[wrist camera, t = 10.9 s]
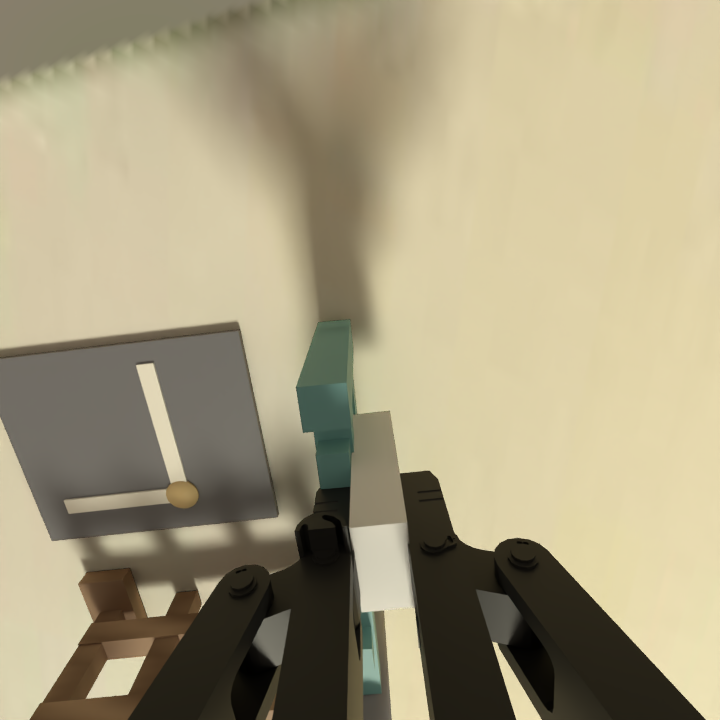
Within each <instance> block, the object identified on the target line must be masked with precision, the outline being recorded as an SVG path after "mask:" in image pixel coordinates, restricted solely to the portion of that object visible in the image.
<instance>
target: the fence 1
mask: <svg viewBox="0 0 720 720" xmlns="http://www.w3.org/2000/svg"><path fill="white" fill-rule="evenodd" d="M78 585H79V587H80V590H81V592H82V595H83V597H84V600H85V602H86V605H87V607H88V610H89V612H90V614H91V617H92V619H93V622H94V623H92V624H91V625H90V627H89V628H88V630H87V631H86V633H85V635H84V636H83V638H82V639H81V641H80V642H79V644H78V645H79V646H78V648H77V649H76V651H75V653H74V654H73V656H72V657H71V659H70V660H69V662H68V663H67V665H66V667H65V668H64V670H63V671H62V673H61V674H60V676H59V678H58V679H57V681H56V682H55V684H54V685H53V687H52V689H51V690H50V692H49V693H48V695H47V696H46V698H45V699H44V701H43V703H40V704H39V706H38V708H37V709H36V711H35V712H34V714H33V715H32V717H31V718H30V720H128V718H129V717H130V715H131V714H132V712H133V711H134V709H135V708H136V706H137V705H138V703H139V702H140V700H141V699H142V697H143V696H144V694H145V693H146V691H147V690H148V688H149V687H150V685H151V684H152V682H153V681H154V679H155V678H156V676H157V675H158V673H159V672H160V670H161V669H162V667H163V666H164V664H165V663H166V661H167V660H168V658H169V657H170V655H171V654H172V652H173V651H174V649H175V648H176V646H177V645H178V643H179V642H180V640H181V639H182V637H183V636H184V634H185V633H186V631H187V630H188V628H189V627H190V625H191V624H192V622H193V621H194V619H195V618H196V616H197V615H198V612H199V610H200V607H201V605H202V604H201V601H200V597H199V594H198V591H188V592H179V593H176V595H175V597H174V599H173V601H172V603H171V605H170V607H169V610H168V612H167V614H166V616H160V617H150V618H147V615H146V613H145V610H144V607H143V604H142V601H141V599H140V596H139V593H138V590H137V587H136V585H135V582H134V579H133V576H132V573H131V570H130V568H126V569H116V570H107V571H97V572H87V573H86V574H85V576H84V577H83V578H82V580H81V581H80V582H79V584H78ZM141 656H146V658H145V660H144V662H143V665H142V667H141V669H140V671H139V673H138V675H137V677H136V679H135V682H134V684H133V686H132V688H131V690H130V692H129V694H128V695H123V696H112V697H101V698H91V699H86V697H87V695H88V693H89V691H90V690H91V688H92V686H93V684H94V682H95V681H96V679H97V677H98V675H99V673H100V672H101V670H102V668H103V666H104V664H105V663H106V661H107V660H110V659H120V658H130V657H141ZM275 699H276V695H275V698H274V700H273V703H272V705H271V708H270V710H269V713H268V715H267V718H266V720H272V716H273V710H274V705H275Z"/></svg>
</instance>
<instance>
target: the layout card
mask: <svg viewBox="0 0 720 720" xmlns="http://www.w3.org/2000/svg"><path fill="white" fill-rule="evenodd" d="M0 417H1V420H2V422H3V424H4V427H5V429H6V432H7V434H8V436H9V439H10V441H11V444H12V446H13V448H14V451H15V453H16V456H17V458H18V460H19V463H20V465H21V468H22V470H23V473H24V475H25V477H26V480H27V482H28V485H29V487H30V489H31V492H32V494H33V497H34V499H35V501H36V504H37V506H38V509H39V511H40V513H41V516H42V518H43V521H44V523H45V526H46V528H47V530H48V533H49V535H50V538H51V540H52V541H57V540H66V539H76V538H85V537H95V536H105V535H114V534H124V533H133V532H143V531H152V530H162V529H171V528H181V527H190V526H200V525H209V524H219V523H228V522H238V521H247V520H257V519H266V518H276V517H278V515H279V512H278V507H277V503H276V498H275V493H274V488H273V484H272V479H271V474H270V469H269V465H268V460H267V455H266V450H265V446H264V441H263V436H262V431H261V427H260V422H259V417H258V413H257V408H256V403H255V398H254V394H253V389H252V384H251V379H250V375H249V370H248V365H247V360H246V356H245V351H244V346H243V341H242V337H241V332H240V329H238V330H230V331H222V332H213V333H205V334H196V335H188V336H179V337H171V338H162V339H154V340H145V341H137V342H128V343H120V344H111V345H103V346H94V347H86V348H78V349H69V350H61V351H52V352H44V353H35V354H27V355H18V356H10V357H1V358H0Z"/></svg>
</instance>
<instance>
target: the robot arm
mask: <svg viewBox="0 0 720 720" xmlns="http://www.w3.org/2000/svg"><path fill="white" fill-rule="evenodd" d="M353 430H354V453H352V458H351V487H342V488H331V489H320V488H319V490H318V491H317V492H316V498H315V505H314V511H313V513H314V514H312V515H310V516H308V517H306V518H304V519H303V520H302V521H301V522H300V523H299V524H298V525H297V527H296V530H295V536H296V541H297V546H298V551H299V556H300V559H299V561H298V562H297V563H295V564H294V565H292V566H291V567H289V568H286V569H284V570H282V571H279V572H276V573H273V574H270V575H269V572H268V571H267V570H266V569H265V568H264V567H261V566H258V565H245V566H242V567H239V568H236V569H234V570H233V571H231V572H229V573H228V574H226V575H225V576H224V577H223V579H222V580H221V581H220V582H219V583H218V585H217V586H216V588H215V589H214V591H213V592H212V594H211V595H210V597H209V598H208V600H207V601H206V603H205V604H204V606H203V607H202V609H201V610H200V612H199V613H198V615H197V616H196V618H195V619H194V621H193V622H192V624H191V625H190V627H189V628H188V630H187V631H186V633H185V634H184V636H183V637H182V639H181V640H180V642H179V643H178V645H177V646H176V648H175V649H174V651H173V652H172V654H171V655H170V657H169V658H168V660H167V661H166V663H165V664H164V666H163V667H162V669H161V670H160V672H159V673H158V675H157V676H156V678H155V679H154V681H153V682H152V684H151V685H150V687H149V688H148V690H147V691H146V693H145V694H144V696H143V697H142V699H141V700H140V702H139V703H138V705H137V706H136V708H135V709H134V711H133V712H132V714H131V715H130V717H129V718H128V720H266V718H267V715H268V713H269V710H270V708H271V705H272V703H273V700H274V698H275V695H276V699H275V705H274V710H273V716H272V720H363V634H362V624H361V618H360V616H361V612H372V611H383V610H393V609H404V608H415V613H416V623H417V633H418V643H419V648H420V652H421V660H422V667H423V674H424V681H425V688H426V696H427V703H428V710H429V717H430V720H516V718H515V715H514V711H513V708H512V705H511V702H510V698H509V695H508V692H507V689H506V686H505V682H504V679H503V676H502V673H501V669H500V666H499V663H498V660H497V657H496V653H495V650H494V647H493V644H492V642H497V643H498V646H499V649H500V650H501V652H502V654H503V655H504V657H505V659H506V660H507V662H508V664H509V665H510V667H511V669H512V670H513V672H514V674H515V675H516V677H517V679H518V680H519V682H520V684H521V685H522V687H523V689H524V690H525V692H526V694H527V695H528V697H529V699H530V700H531V702H532V704H533V705H534V707H535V709H536V710H537V712H538V714H539V715H540V717H541V719H542V720H705V718H704V717H703V716H702V715H701V714H700V713H699V712H698V711H697V710H696V709H695V708H694V707H693V706H692V705H691V703H690V702H689V701H688V700H687V699H686V698H685V697H684V696H683V695H682V694H681V693H680V692H679V691H678V689H677V688H676V687H675V686H674V685H673V684H672V683H671V682H670V681H669V680H668V679H667V678H666V677H665V676H664V674H663V673H662V672H661V671H660V670H659V669H658V668H657V667H656V666H655V665H654V664H653V663H652V662H651V661H650V659H649V658H648V657H647V656H646V655H645V654H644V653H643V652H642V651H641V650H640V649H639V648H638V647H637V646H636V644H635V643H634V642H633V641H632V640H631V639H630V638H629V637H628V636H627V635H626V634H625V633H624V632H623V631H622V629H621V628H620V627H619V626H618V625H617V624H616V623H615V622H614V621H613V620H612V619H611V618H610V617H609V616H608V614H607V613H606V612H605V611H604V610H603V609H602V608H601V607H600V606H599V605H598V604H597V603H596V602H595V601H594V599H593V598H592V597H591V596H590V595H589V594H588V593H587V592H586V591H585V590H584V589H583V588H582V587H581V586H580V584H579V583H578V582H577V581H576V580H575V579H574V578H573V577H572V576H571V575H570V574H569V573H568V572H567V571H566V569H565V568H564V567H563V566H562V565H561V564H560V563H559V562H558V561H557V560H556V559H555V558H554V557H553V556H552V554H551V553H550V552H549V551H548V550H547V549H545V548H544V547H543V546H541V545H540V544H538V543H536V542H534V541H531V540H528V539H521V538H514V539H507V540H505V541H503V542H501V543H499V545H498V546H497V547H496V549H495V552H492V551H486V550H480V549H476V548H473V547H470V546H468V545H466V544H465V543H463V542H462V541H460V540H459V538H458V536H457V535H456V534H455V533H454V531H453V528H452V524H451V521H450V518H449V514H448V511H447V508H446V504H445V501H444V497H443V494H442V491H441V487H440V484H439V481H438V479H437V478H436V477H435V476H434V475H433V474H432V473H431V472H430V471H420V472H410V473H400V472H399V466H398V459H397V453H396V447H395V440H394V434H393V428H392V421H391V415H390V411H383V412H373V413H364V414H355V415H353Z"/></svg>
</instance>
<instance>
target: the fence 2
mask: <svg viewBox="0 0 720 720" xmlns="http://www.w3.org/2000/svg"><path fill="white" fill-rule="evenodd" d="M296 391H297V397H298V404H299V410H300V417H301V423H302V430H303V433H305V432H314V438H315V445H316V461H317V468H318V475H319V482H320V489H331V488H342V487H351V458H352V453H354V430H353V415H355V414H357V410H356V400H355V391H354V382H353V342H352V333H351V323H350V319H348V320H337V321H327V322H318V325H317V328H316V331H315V333H314V336H313V339H312V342H311V345H310V348H309V351H308V354H307V357H306V360H305V363H304V366H303V368H302V371H301V374H300V377H299V380H298V383H297V386H296ZM360 618H361V624H362V634H363V720H392V718H391V704H390V690H389V676H388V661H387V647H386V633H385V619H384V610H383V611H372V612H361V616H360Z"/></svg>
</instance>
